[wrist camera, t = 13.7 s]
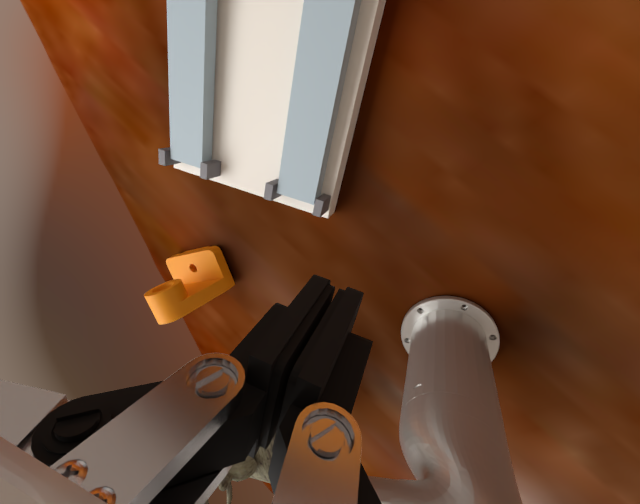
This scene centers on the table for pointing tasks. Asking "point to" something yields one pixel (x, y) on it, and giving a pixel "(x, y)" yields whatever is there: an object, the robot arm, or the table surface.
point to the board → (274, 98)
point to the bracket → (190, 283)
